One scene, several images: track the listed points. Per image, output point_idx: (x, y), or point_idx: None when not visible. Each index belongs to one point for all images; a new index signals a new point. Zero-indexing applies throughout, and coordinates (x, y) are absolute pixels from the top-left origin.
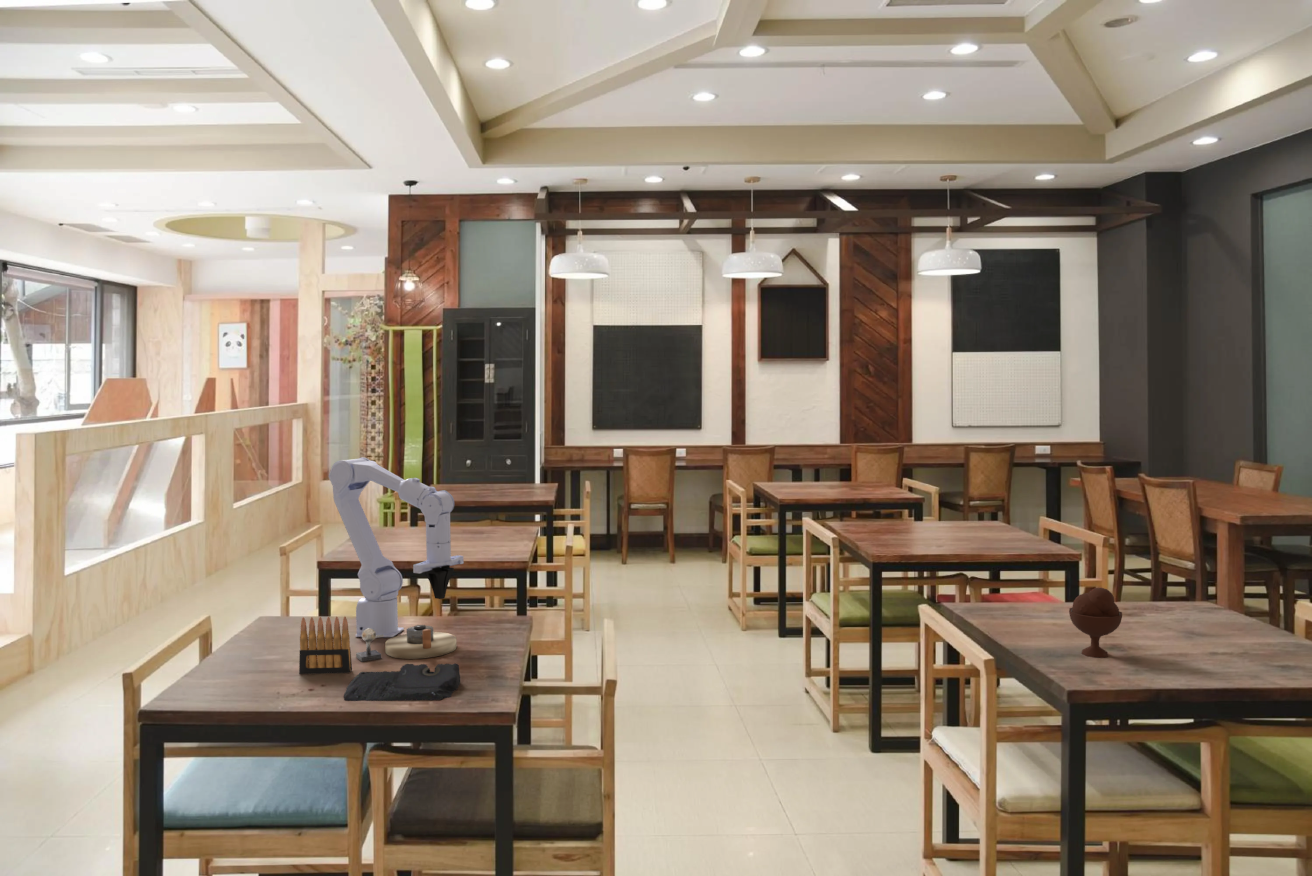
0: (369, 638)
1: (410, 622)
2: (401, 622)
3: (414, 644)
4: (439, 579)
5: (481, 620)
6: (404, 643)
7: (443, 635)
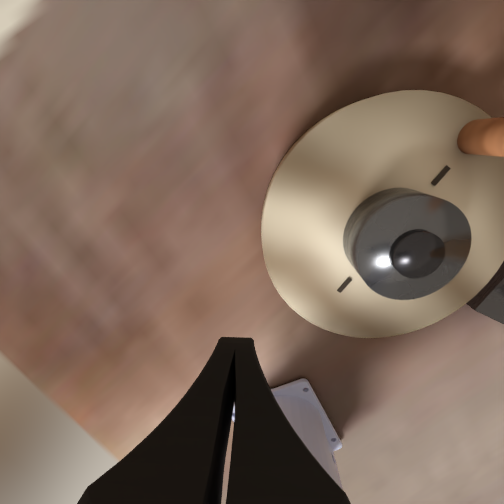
0: None
1: None
2: None
3: None
4: (307, 448)
5: (7, 307)
6: None
7: (294, 214)
